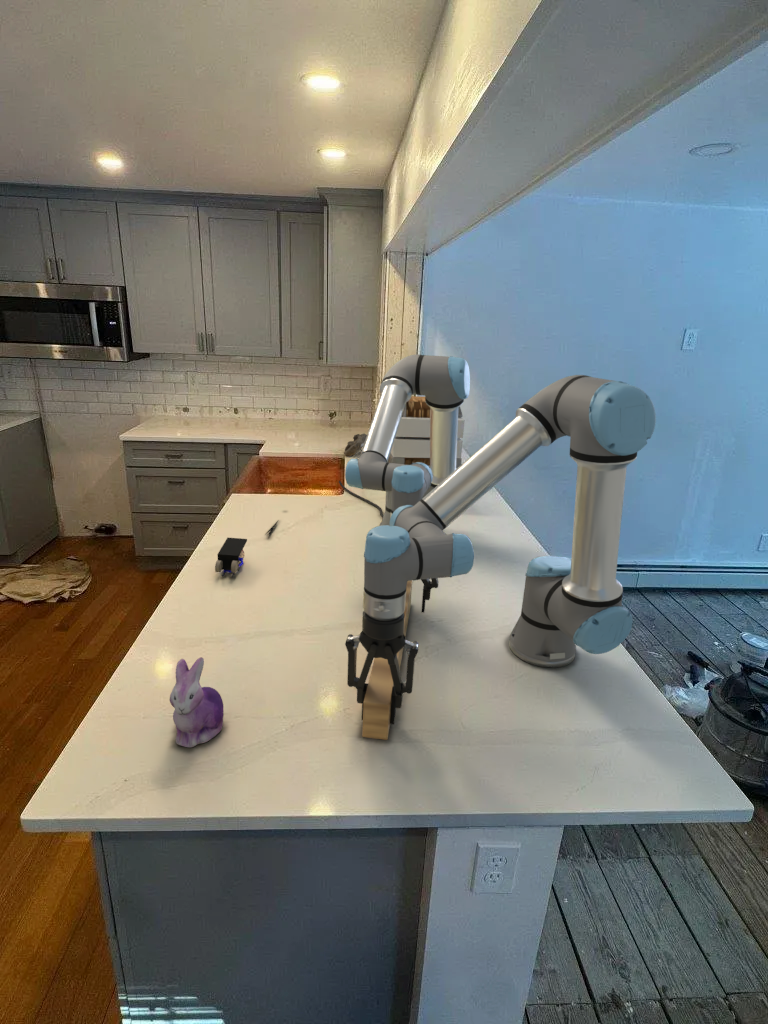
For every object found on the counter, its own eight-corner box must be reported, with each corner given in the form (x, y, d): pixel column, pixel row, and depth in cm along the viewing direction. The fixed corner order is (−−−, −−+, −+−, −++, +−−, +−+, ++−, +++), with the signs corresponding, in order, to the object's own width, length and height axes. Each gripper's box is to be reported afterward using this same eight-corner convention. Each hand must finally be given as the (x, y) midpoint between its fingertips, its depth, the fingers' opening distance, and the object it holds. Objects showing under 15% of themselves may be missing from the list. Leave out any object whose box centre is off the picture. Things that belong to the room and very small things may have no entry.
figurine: (177, 757, 98) (169, 685, 93) (168, 720, 106) (161, 652, 101) (232, 741, 102) (228, 671, 97) (219, 707, 111) (215, 640, 105)
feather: (285, 514, 217) (288, 510, 216) (267, 540, 190) (270, 535, 190) (282, 511, 216) (284, 507, 216) (262, 537, 190) (265, 532, 189)
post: (393, 604, 152) (394, 578, 150) (410, 605, 152) (412, 579, 149) (362, 737, 105) (363, 702, 102) (387, 740, 104) (389, 705, 102)
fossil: (344, 439, 317) (365, 424, 312) (355, 453, 320) (376, 438, 315) (338, 453, 298) (360, 437, 293) (349, 467, 300) (371, 451, 295)
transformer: (382, 463, 289) (386, 382, 275) (445, 464, 293) (451, 384, 279) (390, 482, 257) (394, 392, 243) (460, 483, 261) (468, 394, 247)
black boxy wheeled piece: (238, 584, 162) (249, 557, 175) (236, 562, 158) (247, 536, 172) (215, 584, 161) (227, 556, 175) (212, 561, 158) (225, 535, 171)
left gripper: (355, 530, 137) (353, 610, 144) (452, 539, 134) (445, 619, 142) (360, 519, 144) (358, 596, 151) (453, 527, 141) (446, 605, 149)
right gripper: (330, 616, 99) (329, 725, 107) (432, 627, 97) (423, 737, 105) (339, 596, 106) (337, 699, 114) (434, 605, 104) (425, 710, 112)
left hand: (400, 607), depth 147 cm, fingers open, 11 cm apart
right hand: (378, 717), depth 109 cm, fingers closed on post, 5 cm apart
